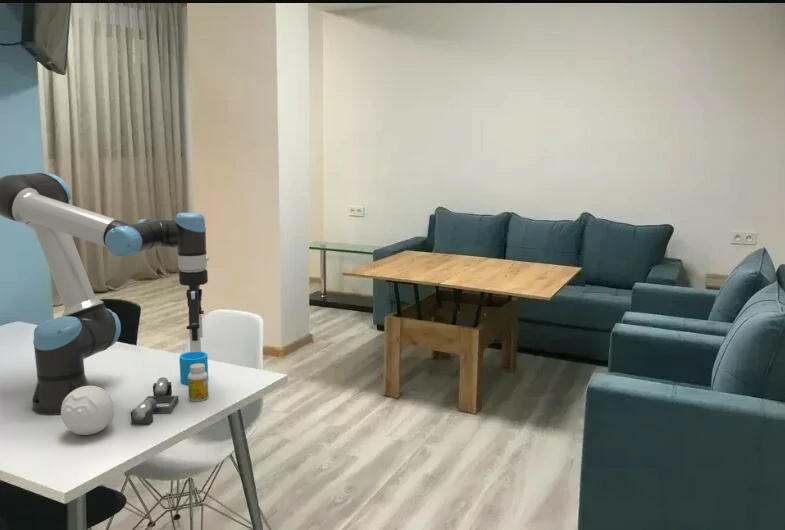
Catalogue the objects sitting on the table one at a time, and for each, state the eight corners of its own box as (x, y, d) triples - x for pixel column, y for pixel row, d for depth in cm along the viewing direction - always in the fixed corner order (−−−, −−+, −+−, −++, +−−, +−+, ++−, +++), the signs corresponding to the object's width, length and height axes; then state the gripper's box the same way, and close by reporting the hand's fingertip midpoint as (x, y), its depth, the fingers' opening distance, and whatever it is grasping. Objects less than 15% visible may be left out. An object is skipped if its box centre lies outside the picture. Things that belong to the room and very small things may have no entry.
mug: (210, 383, 203) (209, 357, 202) (182, 387, 200) (181, 361, 198) (204, 371, 214) (203, 346, 212) (177, 374, 210) (176, 349, 209)
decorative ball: (52, 441, 163) (48, 394, 161) (81, 421, 175) (78, 377, 173) (98, 444, 162) (95, 397, 160) (124, 424, 173) (121, 380, 171)
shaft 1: (143, 414, 180) (142, 397, 179) (160, 415, 179) (159, 398, 178) (130, 425, 173) (129, 407, 172) (148, 426, 172) (147, 408, 171)
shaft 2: (170, 401, 189) (169, 385, 188) (151, 402, 188) (150, 386, 187) (172, 392, 195) (171, 376, 195) (154, 393, 194) (153, 377, 193)
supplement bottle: (185, 400, 189) (183, 367, 188) (195, 394, 195) (193, 361, 193) (202, 402, 188) (201, 369, 186) (212, 395, 193) (210, 363, 192)
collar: (139, 414, 180) (139, 407, 179) (148, 402, 188) (148, 396, 187) (170, 414, 180) (170, 407, 180) (178, 402, 188) (178, 395, 188)
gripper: (206, 277, 174) (209, 357, 177) (208, 261, 197) (211, 331, 201) (175, 279, 172) (179, 359, 176) (181, 262, 196) (185, 332, 199)
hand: (196, 344), depth 188 cm, fingers open, 13 cm apart
